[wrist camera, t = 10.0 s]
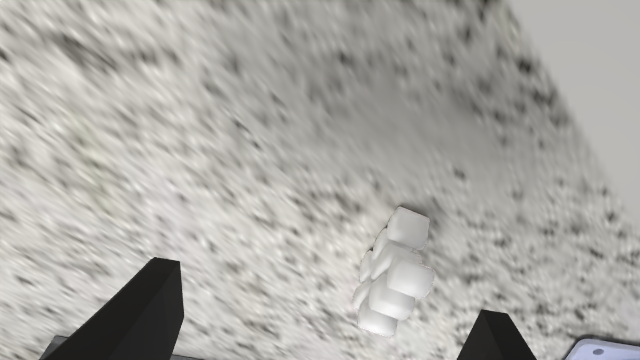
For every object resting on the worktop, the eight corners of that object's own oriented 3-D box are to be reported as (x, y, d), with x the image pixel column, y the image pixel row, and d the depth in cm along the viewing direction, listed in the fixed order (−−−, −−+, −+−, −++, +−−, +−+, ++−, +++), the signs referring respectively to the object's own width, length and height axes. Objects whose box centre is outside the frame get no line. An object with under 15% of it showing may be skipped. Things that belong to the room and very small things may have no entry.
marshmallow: (402, 200, 21) (403, 279, 17) (430, 211, 21) (436, 291, 17) (355, 264, 24) (348, 341, 20) (380, 273, 24) (377, 351, 21)
